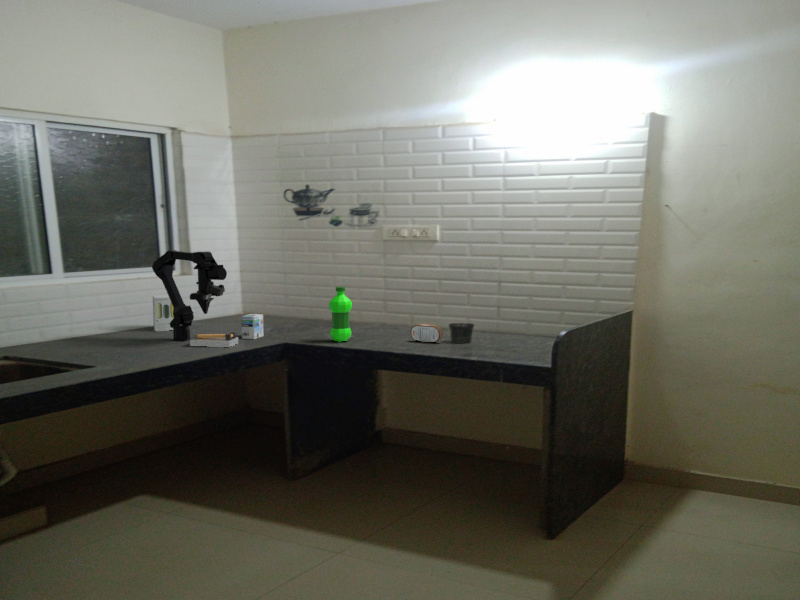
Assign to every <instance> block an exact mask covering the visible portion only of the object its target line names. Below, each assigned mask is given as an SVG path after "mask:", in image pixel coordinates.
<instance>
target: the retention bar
mask: <svg viewBox="0 0 800 600" xmlns="http://www.w3.org/2000/svg"><path fill="white" fill-rule="evenodd" d="M225 334H226V333H206V334H205V333H204V334H203V333H202V334H198V335H197V338H225ZM231 337H233V334H231Z"/></svg>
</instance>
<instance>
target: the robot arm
mask: <svg viewBox="0 0 800 600" xmlns="http://www.w3.org/2000/svg"><path fill="white" fill-rule="evenodd" d="M177 260H179V261H181V260H182V261H190V262H192V263H194V264H196V265H195V266H194V267H193V269H194V270H197V281H196V285H197V288H198V289H197V291H196V292H191V293H190V294H189V300H190V301H191V300H195V301H196V302H197V303H198V305H199V307H200V309H201V310H202V313H203V314H204V315H206V314H208V312H209V307H210V305H211V302H212V301H213V300H214V299H215V297H220V296H221V297H222V296H223V295H224V293H225V291H226V290H225V289H226V288H225V285H224V284H219V285H215V284H214V281H212V280H215V281H224V280H225V279H226V278H227V275H228V273H227V270H226V269H225V267H224V264H218V263H217V261H216V259H215V258H214V256H213V254H212V252H211V251H193V252H192V251H181V250H175V249H172V250H166V251H165V253H163V255H162V254H161V256H159V257H157V259H156V260H155V261H153V263H152V265H151V268H152V272H154V274H155V276H156V277H158V279H160V280H161V282H162V283H163V286H164V288H165V290H166V293H167V295H168V296H169V298H170V300H171V303H172V305H173V307H174V309H173V316H174V318H173V320H172V321H171V322H170V327H171V328H173V331H172V332H173V334H172V335H173V338H172V339H171V341H178V342H181V341H182V342H186V341H188V340H189V341H190V340H191V339H192V337H191V330H190V327H191V326H192V324H193V321H194V319H195V318H194V317H195V316H194V314H195V313H194V312H193V311H194V310H193V309H192V307H191V305H186V303H185V302H184V300H183V298H182V296H181V293H180V291H179V288H178V286H177V283H176V281H175V279H174V277H173V274H174V268H173V267H174V265H175V264H176V261H177Z"/></svg>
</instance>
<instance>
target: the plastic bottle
mask: <svg viewBox="0 0 800 600" xmlns="http://www.w3.org/2000/svg"><path fill="white" fill-rule="evenodd" d="M335 292H336V295H335V296H334V297H333V298H332V299H331V300H330V301H329V303H328V307H329V311H330V312H331V329H330V331H329V336H330V338H331V339H332V340H334V342H335V341H338V342H337V343H342V342H341V341H346V342H347V341H348V340H349V339H350V338H351V337H352V329H351V327H350V311H352V307H353V302H352V300H351V299H350V298H349V297H348V296H346V294H345V292H346V286H335Z"/></svg>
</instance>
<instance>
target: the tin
mask: <svg viewBox="0 0 800 600" xmlns="http://www.w3.org/2000/svg"><path fill="white" fill-rule="evenodd" d="M409 334H410V337H411V339H412V340H413V341H414V340H419V341H432V342H436V343H438V341H439V342H440V341H441V340H442V338H443V331H442V329H441V327H440V326H439V325H436V324H430V323H416V324H415V325H413V326H412V327H411V329H410V333H409Z"/></svg>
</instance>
